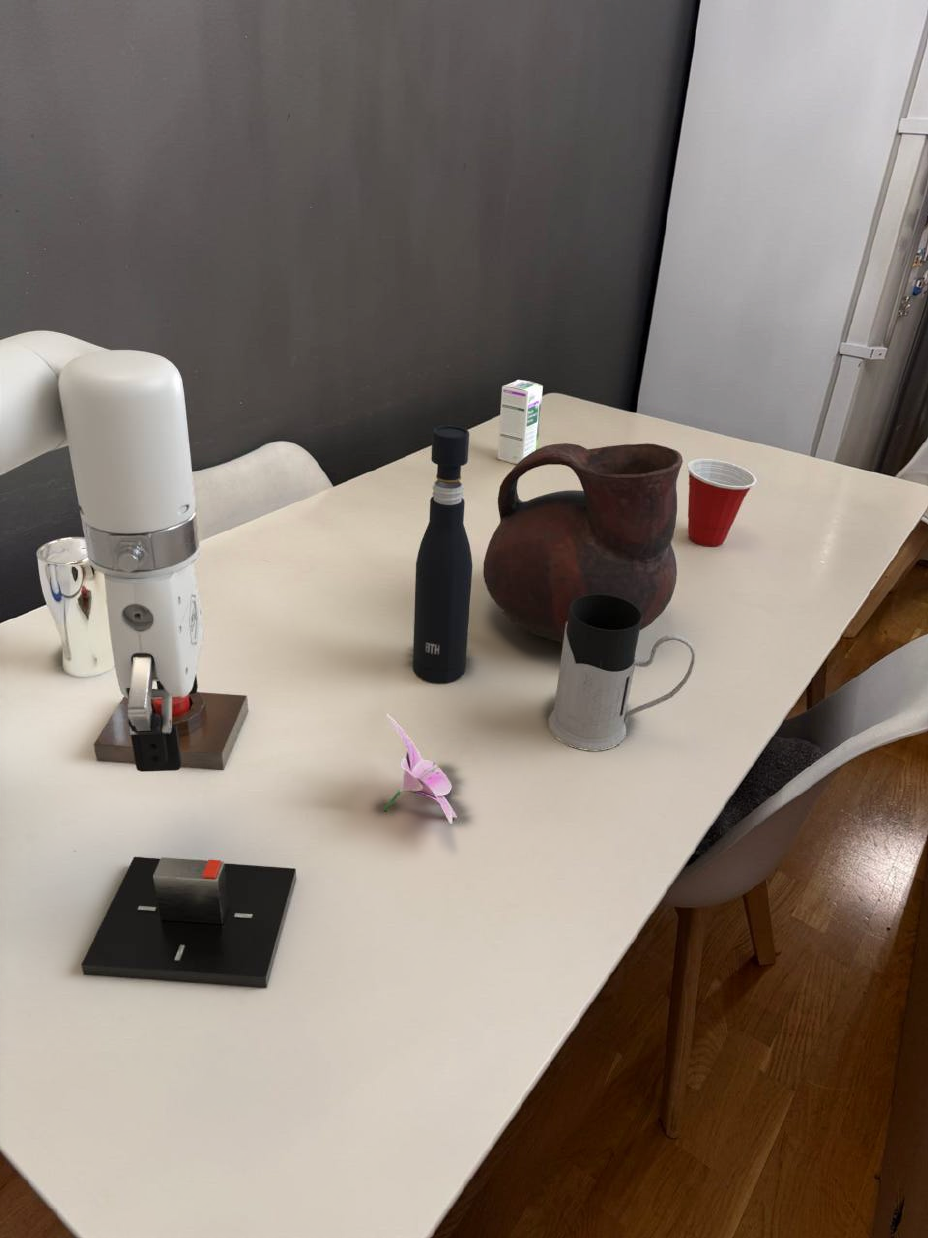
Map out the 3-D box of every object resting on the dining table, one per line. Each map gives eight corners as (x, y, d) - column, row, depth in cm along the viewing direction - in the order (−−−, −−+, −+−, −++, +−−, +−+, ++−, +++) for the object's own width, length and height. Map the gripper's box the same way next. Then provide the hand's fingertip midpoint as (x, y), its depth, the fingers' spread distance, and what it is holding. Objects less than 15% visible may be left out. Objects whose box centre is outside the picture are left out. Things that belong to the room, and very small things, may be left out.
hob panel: (86, 986, 68) (80, 963, 66) (137, 876, 77) (133, 855, 76) (267, 999, 68) (265, 977, 66) (297, 888, 77) (295, 866, 76)
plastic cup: (739, 559, 138) (756, 488, 132) (669, 546, 141) (683, 475, 135) (743, 532, 147) (759, 464, 141) (678, 520, 150) (691, 453, 144)
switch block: (96, 761, 90) (90, 730, 88) (132, 703, 98) (127, 673, 96) (223, 770, 90) (220, 739, 88) (248, 711, 98) (246, 681, 96)
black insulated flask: (455, 651, 111) (470, 419, 96) (472, 680, 106) (490, 439, 90) (406, 658, 109) (413, 422, 94) (420, 687, 104) (430, 443, 88)
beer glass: (129, 669, 104) (110, 555, 96) (67, 686, 100) (42, 569, 92) (112, 641, 109) (93, 531, 101) (52, 657, 105) (27, 543, 97)
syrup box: (522, 466, 167) (529, 390, 160) (495, 459, 170) (501, 384, 163) (536, 458, 172) (544, 384, 164) (510, 451, 174) (517, 378, 167)
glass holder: (556, 696, 104) (572, 584, 96) (678, 723, 101) (704, 610, 93) (540, 740, 97) (556, 623, 89) (671, 770, 93) (698, 652, 86)
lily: (438, 885, 80) (490, 801, 77) (324, 822, 79) (373, 735, 77) (451, 826, 91) (497, 751, 89) (352, 771, 91) (395, 694, 89)
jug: (539, 559, 134) (558, 398, 121) (694, 615, 122) (733, 442, 109) (441, 624, 116) (451, 443, 103) (612, 697, 104) (646, 502, 92)
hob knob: (160, 920, 70) (152, 874, 68) (168, 901, 72) (160, 854, 69) (222, 924, 70) (217, 878, 68) (229, 905, 72) (224, 859, 69)
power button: (149, 717, 91) (146, 703, 90) (160, 696, 94) (158, 683, 93) (183, 719, 91) (182, 706, 90) (194, 699, 94) (192, 685, 93)
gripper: (180, 595, 55) (205, 801, 64) (211, 487, 70) (228, 666, 79) (53, 597, 54) (96, 805, 63) (112, 486, 69) (140, 668, 77)
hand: (169, 728), depth 71 cm, fingers open, 9 cm apart
